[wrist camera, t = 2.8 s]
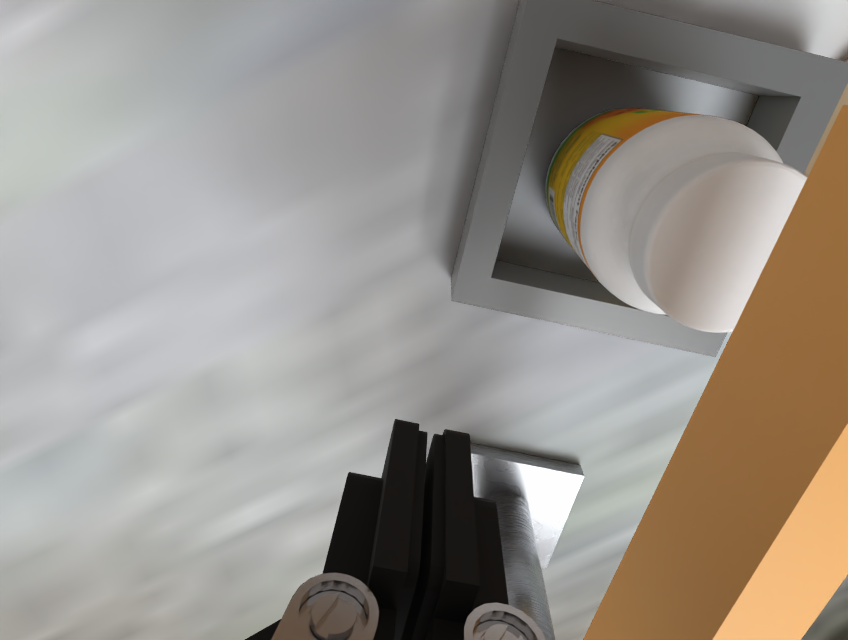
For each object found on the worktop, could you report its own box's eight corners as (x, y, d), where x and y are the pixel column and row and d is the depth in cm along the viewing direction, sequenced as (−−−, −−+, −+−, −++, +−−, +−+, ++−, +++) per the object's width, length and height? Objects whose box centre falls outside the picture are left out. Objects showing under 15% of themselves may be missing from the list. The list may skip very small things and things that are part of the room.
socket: (807, 67, 19) (856, 64, 17) (688, 330, 23) (715, 357, 21) (520, -3, 19) (530, -15, 16) (451, 279, 23) (451, 300, 20)
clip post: (580, 465, 26) (671, 721, 16) (543, 555, 28) (601, 832, 18) (458, 440, 26) (467, 685, 15) (431, 534, 28) (423, 802, 18)
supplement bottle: (715, 144, 20) (927, 189, 11) (636, 270, 22) (763, 393, 13) (587, 81, 20) (706, 76, 11) (518, 217, 22) (569, 308, 13)
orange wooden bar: (575, 814, 17) (602, 965, 14) (475, 797, 17) (482, 947, 14) (974, 136, 9) (1234, 160, 6) (789, 92, 9) (963, 94, 6)
